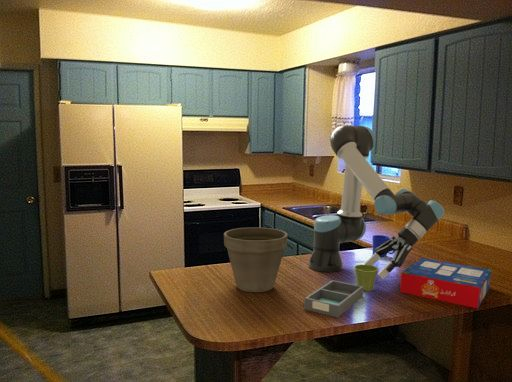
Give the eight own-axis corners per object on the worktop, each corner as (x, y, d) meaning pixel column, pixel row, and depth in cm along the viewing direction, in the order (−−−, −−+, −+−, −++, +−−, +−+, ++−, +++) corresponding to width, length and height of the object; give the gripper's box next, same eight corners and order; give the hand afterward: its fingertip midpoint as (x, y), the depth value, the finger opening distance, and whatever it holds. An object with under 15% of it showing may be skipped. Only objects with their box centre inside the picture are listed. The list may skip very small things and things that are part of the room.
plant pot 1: (209, 286, 182) (210, 232, 180) (250, 273, 201) (251, 224, 199) (258, 302, 167) (260, 243, 164) (298, 286, 185) (300, 233, 183)
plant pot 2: (363, 294, 178) (365, 272, 177) (348, 286, 187) (349, 265, 186) (382, 291, 183) (383, 269, 182) (366, 283, 191) (367, 263, 190)
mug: (396, 259, 230) (398, 239, 228) (371, 257, 232) (372, 238, 231) (395, 255, 238) (396, 236, 236) (371, 253, 240) (372, 234, 239)
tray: (303, 309, 161) (303, 298, 161) (331, 290, 182) (332, 280, 182) (337, 317, 155) (338, 306, 154) (362, 296, 176) (363, 286, 175)
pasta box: (419, 275, 205) (400, 292, 182) (420, 257, 204) (401, 272, 181) (489, 288, 190) (478, 309, 167) (491, 269, 189) (479, 287, 166)
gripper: (433, 247, 172) (393, 287, 171) (402, 232, 196) (367, 268, 196) (421, 233, 170) (380, 274, 170) (391, 220, 195) (355, 256, 194)
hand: (373, 271), depth 183 cm, fingers open, 13 cm apart
